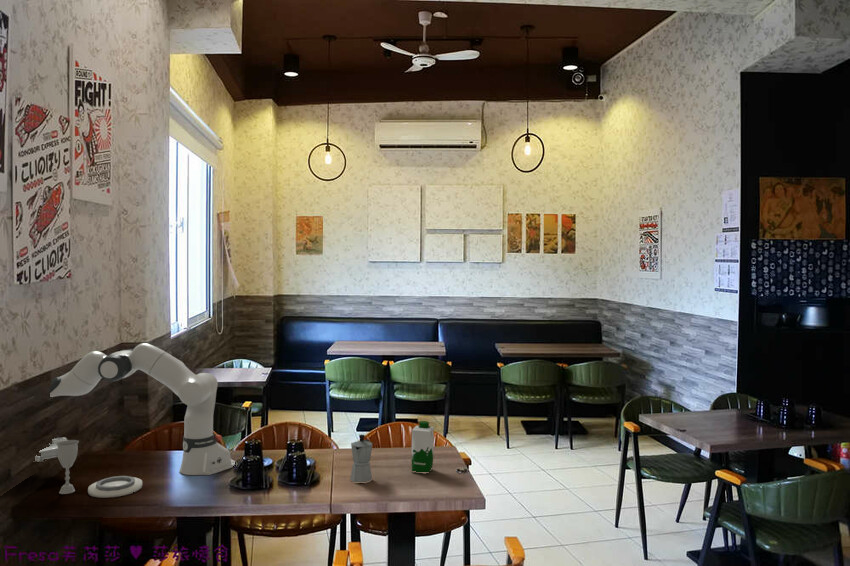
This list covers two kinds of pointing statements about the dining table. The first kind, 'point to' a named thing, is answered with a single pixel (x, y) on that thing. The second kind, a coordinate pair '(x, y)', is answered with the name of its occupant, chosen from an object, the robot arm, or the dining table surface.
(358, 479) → the coffee maker
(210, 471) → the robot arm
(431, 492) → the dining table surface
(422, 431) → the milk carton
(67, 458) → the chalice
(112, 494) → the carrier plate
